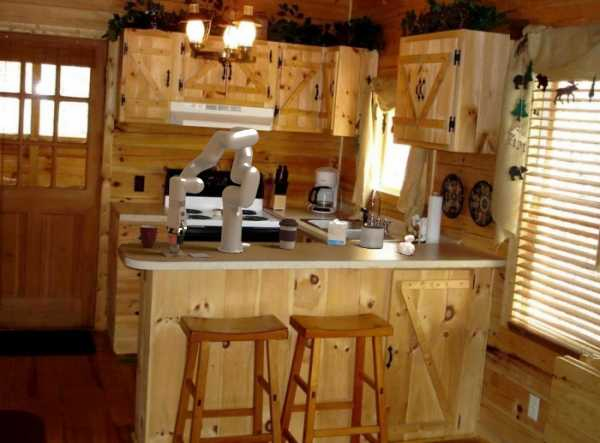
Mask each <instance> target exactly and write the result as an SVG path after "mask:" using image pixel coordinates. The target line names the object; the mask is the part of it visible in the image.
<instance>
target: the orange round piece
mask: <svg viewBox="0 0 600 443" xmlns="http://www.w3.org/2000/svg"><path fill="white" fill-rule="evenodd" d="M177 235H178V233H177V231H174V233H168V232H167V239H166V240H167V241H166V242H167V244H177Z"/></svg>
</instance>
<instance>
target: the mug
mask: <svg viewBox="0 0 600 443" xmlns="http://www.w3.org/2000/svg"><path fill="white" fill-rule="evenodd" d="M139 234H140V240H141V241H140V242H141V244H142V246H143V248H146V249H152V248H153V247H154V244H155V243H156V241H157V240H156V239H157V235H158V226H156V225H149V224H145V225H140V227H139Z"/></svg>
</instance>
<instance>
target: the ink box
mask: <svg viewBox="0 0 600 443" xmlns="http://www.w3.org/2000/svg"><path fill="white" fill-rule="evenodd" d="M347 226H348V223H347V222H341V221H340V220H339V219H338V218H335V219H333V221H331V222H328V229H327V242H326V244H327V245H330V246H344V245H346V240H347Z"/></svg>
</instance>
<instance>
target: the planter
mask: <svg viewBox="0 0 600 443" xmlns="http://www.w3.org/2000/svg"><path fill="white" fill-rule="evenodd" d="M360 228H361V229H360V237H359V238H360V240H359V246H360V247H361V248H365V249H369V250H370V249H371V250H381V249H382V248H383V247H384V239H385V238H384V236H385V227H384V226H380V225H370V224H368V225H367V224H365V225H363V224H362V225H361V227H360Z"/></svg>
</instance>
